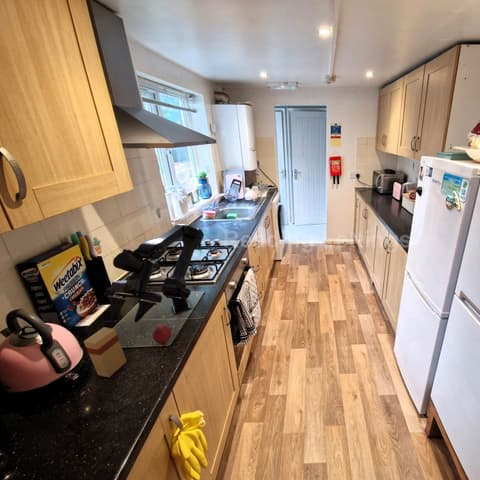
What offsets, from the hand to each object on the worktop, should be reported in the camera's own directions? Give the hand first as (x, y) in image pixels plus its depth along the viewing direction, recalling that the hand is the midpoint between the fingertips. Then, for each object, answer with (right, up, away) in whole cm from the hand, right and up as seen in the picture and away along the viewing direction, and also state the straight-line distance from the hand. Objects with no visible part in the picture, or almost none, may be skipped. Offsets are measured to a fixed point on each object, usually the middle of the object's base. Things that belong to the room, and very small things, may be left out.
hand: (124, 320), depth 90 cm
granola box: (-2, -15, -2) cm, 16 cm away
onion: (+9, -11, +9) cm, 17 cm away
